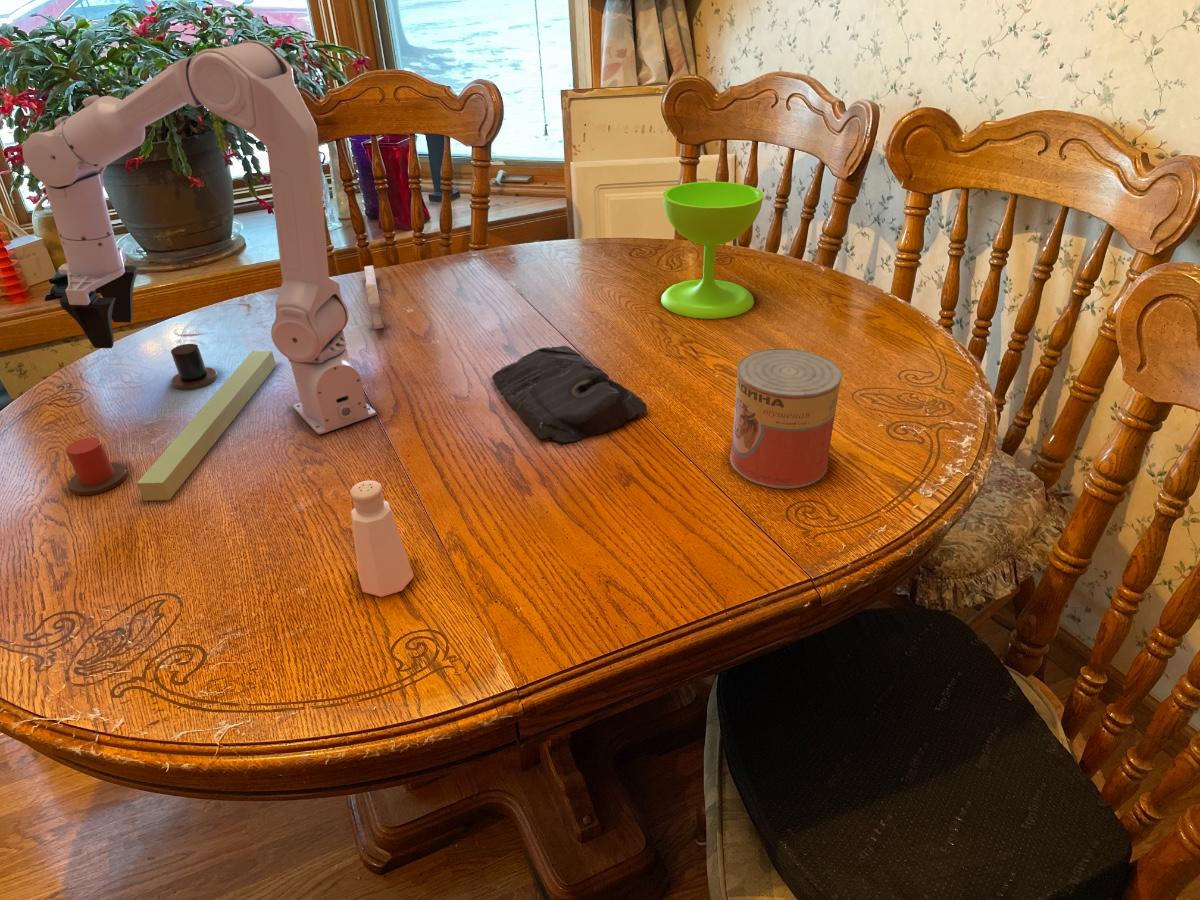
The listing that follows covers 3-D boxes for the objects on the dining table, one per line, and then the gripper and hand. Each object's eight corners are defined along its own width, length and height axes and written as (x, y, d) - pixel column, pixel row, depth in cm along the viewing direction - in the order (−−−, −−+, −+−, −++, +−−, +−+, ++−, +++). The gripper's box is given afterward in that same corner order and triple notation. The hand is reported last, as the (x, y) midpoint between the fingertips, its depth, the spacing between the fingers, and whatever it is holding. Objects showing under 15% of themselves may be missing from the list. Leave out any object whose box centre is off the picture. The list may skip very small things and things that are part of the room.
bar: (169, 500, 89) (162, 482, 87) (143, 501, 89) (136, 483, 87) (276, 365, 117) (272, 350, 116) (256, 366, 117) (252, 350, 116)
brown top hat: (222, 380, 113) (212, 349, 111) (178, 393, 110) (167, 362, 108) (210, 366, 117) (200, 336, 115) (168, 379, 114) (156, 348, 112)
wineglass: (647, 290, 139) (648, 187, 129) (729, 278, 143) (736, 177, 133) (681, 324, 126) (685, 212, 116) (771, 310, 130) (781, 201, 120)
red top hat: (132, 482, 92) (117, 446, 89) (75, 502, 89) (57, 465, 86) (121, 461, 96) (106, 426, 93) (66, 479, 93) (49, 443, 90)
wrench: (378, 293, 149) (386, 338, 123) (368, 294, 148) (374, 339, 122) (370, 250, 145) (377, 287, 119) (360, 251, 145) (365, 289, 119)
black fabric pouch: (580, 354, 118) (579, 325, 115) (655, 419, 101) (655, 386, 98) (485, 378, 112) (481, 348, 109) (547, 450, 95) (545, 417, 93)
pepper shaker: (418, 559, 79) (400, 469, 73) (409, 596, 74) (389, 504, 68) (365, 561, 79) (342, 471, 73) (352, 599, 74) (327, 506, 68)
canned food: (713, 447, 95) (719, 358, 88) (793, 428, 98) (804, 341, 92) (760, 498, 86) (771, 403, 80) (847, 475, 89) (863, 383, 83)
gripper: (72, 212, 100) (99, 310, 108) (24, 252, 88) (58, 359, 96) (132, 215, 102) (154, 311, 109) (93, 254, 90) (121, 359, 97)
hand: (113, 333), depth 103 cm, fingers open, 7 cm apart
